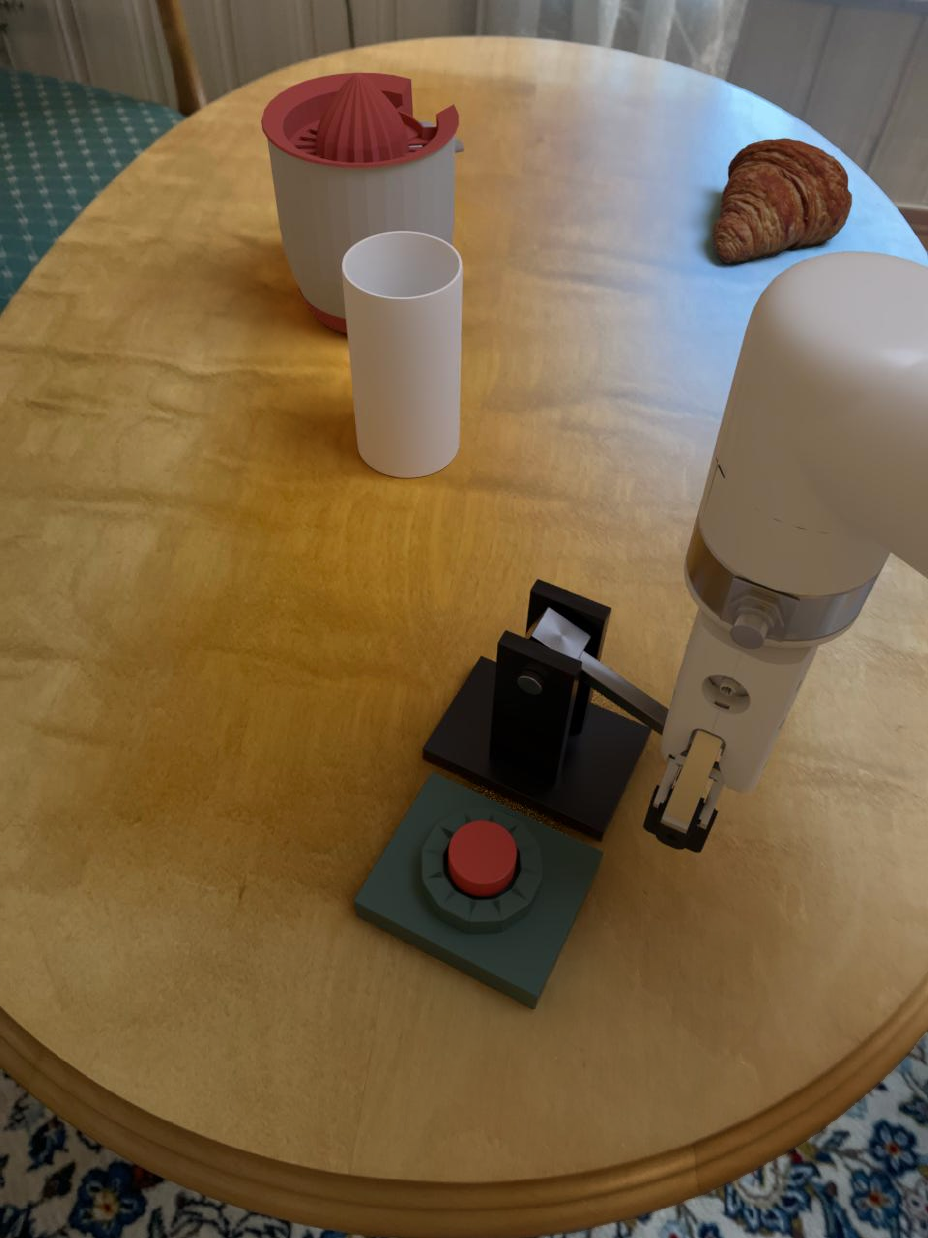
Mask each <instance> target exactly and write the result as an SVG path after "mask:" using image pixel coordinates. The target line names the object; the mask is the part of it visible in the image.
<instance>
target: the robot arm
mask: <svg viewBox="0 0 928 1238" xmlns="http://www.w3.org/2000/svg"><path fill="white" fill-rule="evenodd" d="M715 441H716V442H715V445H714V449H713V453H712V456H711V457H712V458H711V461H710V465H709V469H708V471H707V472H708V473H707V477H706V480H705V485H704V488H703V493H702V497H701V498H700V503H699V507H698V510H697V514H696V518H695V520H694V521H695V522H694V525H693V529H692V532H691V537H690V540H689V543H688V547H687V551H686V555H685V558H684V559H685V560H684V563H683V564H684V565H683V575H684V581H685V584H686V588H687V591H688V592H689V594H690V597H691V599H692V600H693V601H694V604H695V605H696V606H697V611H696V615H695V617H694V621H693V624H692V627H691V631H690V633H689V637H688V640H687V644H686V647H685V651H684V653H683V657H682V660H681V664H680V668H679V671H678V674H677V677H676V681H675V684H674V690H673V692H672V696H671V700H670V703H669V707H668V709H669V710H668V714H667V718H666V722H665V726H664V730H663V734H662V736H661V739H660V744H659V750H660V752H661V756H662V757H663V758H664V761H666V762H668V764H667V767H666V769H665V772H664V775H663V777H662V780H661V783H660V785H659V784H656V785H655V788H654V789H653V793H652V795H651V798H650V802H649V805H648V808H647V811H646V814H645V818H644V821H643V823H642V828H643V829H644V830H645V831H646V832H647V833H649V834H652V835H654V836H655V838H656V840H657V841H658V842H660V844H663V845H665V846H667V847H669V848H672V849H673V850H674V849H675V850H679V851H682V850H687V851H690V852H693V853H696V854H700V853H702V851H703V848H704V846H705V844H706V842H707V840H708V837H709V835H710V832H711V830H712V828H713V825H714V823H715V821H716V819H717V816H718V814H719V810H717V809H716V805H717V803H718V801H719V798H720V795H721V793H722V791H723V789H724V785H725V787H726V788H727V789H728V790H731V791H734V792H736V793H739V794H743V795H745V794H748V793H750V792H753V791H754V790H756V789H757V787H758V784H759V782H760V780H761V778H762V776H763V773H764V772H765V771H764V770H765V768H766V766H767V764H768V761H769V759H770V757H771V754H772V752H773V750H774V748H775V745H776V743H777V741H778V739H779V737H780V735H781V732H782V730H783V727H784V726H785V723H786V722H787V720H788V717H789V715H790V712H791V710H792V708H793V706H794V704H795V702H796V699H797V697H798V695H799V693H800V691H801V689H802V686H803V684H804V682H805V680H806V677H807V675H808V672H809V671H810V669H811V666H812V664H813V661H814V659H815V657H816V654H817V651H818V649H819V646H822V645H824V644H827V643H830V642H832V641H835V640H836V639H837V638H840V637H841V636H842V635H844V634H845V633H846V632H847V631H849V630H850V629H851V628H852V627H853V625H854V624H855V622H856V621H857V619H858V618H859V616H860V614H861V612H862V609H863V607H864V606H865V604H866V602H867V600H868V598H869V596H870V594H871V592H872V590H873V588H874V586H875V584H876V583H877V580H878V578H879V576H880V574H881V572H882V570H883V569H884V566H885V564H886V563H887V560H889V557H890V555H891V554H892V555H894V556H895V557H896V558H898V559H899V560H901V561H902V562H904V563H905V564H907V565H908V566H909V567H911V568H912V569H913V570H915V571H916V572H917V573H919V574H920V575H922V576H923V577H924V578H926V579H927V580H928V266H926V265H923V264H921V263H918V262H916V261H913V260H910V259H907V258H903V257H900V256H896V255H892V254H886V253H881V252H874V251H863V250H860V251H858V250H857V251H855V250H854V251H853V250H851V251H849V250H845V251H835V252H829V253H823V254H820V255H816V256H813V257H810V258H809V257H808V258H806V259H803V260H801V261H798V262H795V263H794V264H792V265H790V266H789V267H788V268H786V269H785V270H783V271H782V272H780V273H779V274H778V275H777V276H775V277H774V278H773V279H772V281H770V282H769V284H768V285H767V286H766V287H765V288H764V290H763V291H762V292H761V293H760V295H759V297H758V299H757V301H756V302H755V304H754V306H753V308H752V311H751V314H750V316H749V319H748V323H747V325H746V329H745V331H744V335H743V339H742V343H741V347H740V351H739V354H738V358H737V362H736V365H735V369H734V373H733V377H732V381H731V385H730V389H729V391H728V396H727V400H726V403H725V407H724V412H723V414H722V419H721V422H720V426H719V430H718V434H717V437H716V440H715ZM693 738H694V740H693ZM692 740H693V743H692ZM689 743H690V744H691V743H692V745H691V748H690V750H689V749H687V747H688V744H689ZM720 750H721V752H720ZM719 752H720V755H719ZM718 755H719V756H720V759H719V761H717V758H718ZM681 767H682V770H681V772H680V769H681ZM679 772H680V775H679V777H678V780H677V782H676V779H677V776H678V774H679ZM709 779H710V780H713V781H712V783H711V785H710V788H709V791H708V793H707V796H706V798H704V797H702V794H703V793H704V790H705V787H706V785H707V782H708V780H709ZM674 783H675V784H674Z"/></svg>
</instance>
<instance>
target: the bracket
mask: <svg viewBox="0 0 928 1238" xmlns="http://www.w3.org/2000/svg"><path fill="white" fill-rule="evenodd" d="M548 607H550V608H551V609H552V610H554V611H555V612H557V613H558V614H560V615H561V616H563V617H564V618H566V619H567V620H568V621H570V622H571V623H573V624H574V625H576V626H577V627H579V628H580V629H582V630H583V631H584V632H586V633H587V634H589V635H590V636H591V637H590V639H589V641H588V643H587V645H586V647H585V648H584V650H583V651H585V652H586V653H588V654H589V655H591V656H592V657H594V658H595V659H597V660H598V661H599V662H601V659H602V654H603V650H604V646H605V640H606V636H607V632H608V628H609V623H610V618H611V614H612V607H610V606H608V605H605V604H603V603H600V602H597V601H595V600H593V599H590V598H587V597H585V596H582V595H580V594H577V593H576V592H572V591H570V590H567V589H565V588H562V587H560V586H557V585H555V584H553V583H550V582H547V581H546V580H542V579H540V578H537V579H536V580H535V582H534V583H533V585H532V587H531V588H530V590H529V598H528V607H527V616H526V623H525V631H524V636H521V635H520V634H516V633H514V632H513V631H510V630H508V629H505V630H504V631H503V633H502V635H501V637H500V638H499V639H498V641H497V642H496V643H497V646H496V658H495V661H494V660H492V659H489V658H488V657H485V656H483V655H480V656H479V658H478V659H477V660H476V662H475V664H474V665H473V667H472V669H471V670H470V672H469V674H468V675H467V677H466V679H465V680H464V681H463V682H462V685H461V686H460V688H459V689H458V690H457V693H456V694H455V696H454V697H453V699H452V701H451V702H450V704H449V705H448V707H447V709H446V710H445V711H444V713H443V715H442V717H441V719H440V720H439V721H438V723H437V725H436V727H435V728H434V730H433V731H432V733H431V735H430V736H429V737H428V739H427V741H426V742H425V744H424V746H423V747H422V759H423V760H424V761H426V762H428V763H431V764H433V765H435V766H437V767H439V768H441V769H443V770H446V771H448V772H450V773H452V774H454V775H456V776H457V777H460V778H463V779H465V780H467V781H469V782H471V783H473V784H476V785H478V786H480V787H482V788H484V789H486V790H488V791H491V792H493V793H495V794H497V795H499V796H501V797H503V798H506V799H508V800H509V801H512V802H514V803H516V804H518V805H521V806H523V807H525V808H527V809H529V810H532V811H533V812H536V813H538V814H540V815H542V816H544V817H547V818H549V819H551V820H553V821H555V822H558V823H559V824H561V825H563V826H565V827H568V828H570V829H572V830H574V831H576V832H578V833H581V834H583V835H584V836H586V837H589V838H592V839H593V840H596V841H597V842H600V843H601V842H602V841H603V840H604V838H605V835H606V833H607V831H608V829H609V826H610V825H611V822H612V820H613V818H614V816H615V814H616V811H617V809H618V807H619V805H620V803H621V801H622V798H623V796H624V794H625V792H626V790H627V788H628V785H629V784H630V781H631V779H632V776H633V775H634V773H635V770H636V768H637V766H638V764H639V762H640V759H641V757H642V755H643V753H644V750H645V748H646V746H647V744H648V742H649V740H650V736H651V734H652V729H651V728H649V727H648V726H647V725H645V724H644V723H640V722H638V721H636V720H633V719H630V718H628V717H626V716H624V715H621V714H619V713H617V712H614V711H612V710H610V709H608V708H605V707H602V706H601V705H598V704H596V703H593V702H592V699H593V695H594V691H595V690H594V689H593V688H591V687H590V686H588V685H587V684H585V683H584V682H582V681H581V680H579V678H580V673H581V668H582V663H583V662H582V661H580V660H577V659H575V658H572V657H570V656H568V655H565V654H563V653H560V652H558V651H556V650H553V649H551V648H548V647H546V646H544V645H541V644H539V643H536V642H534V641H531V640H529V639H527V638H524V637H525V635H526V634H527V632H528V630H529V629H530V627H531V626H532V625H533V623H534V622H535V621H536V620H537V619H538V618H539V617H540V616H541V614H542V613H543V612H544V611H545V610H546V609H547V608H548Z"/></svg>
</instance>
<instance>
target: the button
mask: <svg viewBox="0 0 928 1238" xmlns="http://www.w3.org/2000/svg"><path fill="white" fill-rule="evenodd" d="M516 858H517V848H516V844H515V841H514V839H513V837H512V836H511V834H510V833H509V832H508V831H507V830H506V829H505V828H503V827H502V826H500V825H499V824H497V823H494V822H491V821H483V820H480V821H474V822H470V823H468V824H466V825H464V826H462V827H461V828H460V829H459V830H457V832H456V833H455V834H454V836H453V837H452V839H451V841H450V844H449V858H448V866H449V872H450V875H451V878H452V880H453V881H454V883H455V884H456V885H457V886H458V887H459V888H460V889H461V890H463V891H464V892H466V893H468V894H470V895H474V896H481V897H484V896H491V895H494V894H497V893H499V892H500V891H502V890H503V889H505V888H506V887H507V886H508V884H509V883H510V882H511V880H512V878H513V875H514V872H515V865H516Z"/></svg>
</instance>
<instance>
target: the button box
mask: <svg viewBox="0 0 928 1238" xmlns="http://www.w3.org/2000/svg"><path fill="white" fill-rule="evenodd" d="M480 820H483V821H491V822H494V823H497V824H499V825H500V826H502V827H503V828H505V829H506V830H507V831H508V832H509V833H510V834H511V836H512V837H513V839H514V841H515V844H516V848H517V858H516V865H515V872H514V875H513V878H512V880H511V882H510V883H509V884H508V886H507V887H506V888H505V889H503V890H502V891H500V892H499V893H497V894H494V895H491V896H484V897H481V896H474V895H470V894H468V893H466V892H464V891H463V890H461V889H460V888H459V887H458V886H457V885H456V884H455V883H454V881H453V880H452V878H451V875H450V872H449V866H448V858H449V844H450V841H451V839H452V837H453V836H454V834H455V833H456V832H457V830H459V829H460V828H461V827H462V826H464V825H466V824H468V823H470V822H474V821H480ZM603 856H604V851H603V850H600V849H598V848H596V847H594V846H592V845H590V844H589V843H585V842H583V841H581V840H579V839H577V838H575V837H573V836H571V835H570V834H569V835H568V834H566V833H565V832H562V831H560V830H559V829H556V828H554V827H552V826H550V825H548V824H545V823H543V822H541V821H539V820H537V819H535V818H532V817H530V816H528V815H526V814H524V813H522V812H519V811H518V810H515V809H513V808H511V807H509V806H507V805H505V804H503V803H500V802H499V801H496V800H494V799H492V798H491V797H490V798H489V797H487V796H485V795H483V794H481V793H479V792H477V791H475V790H473V789H471V788H469V787H466V786H464V785H462V784H460V783H458V782H456V781H453V780H451V779H450V778H447V777H445V776H443V775H441V774H440V773H439V774H438V773H436V772H435V771H431V772H430V774H429V775H428V776H427V778H426V780H425V782H424V784H423V786H422V787H421V789H420V790H419V792H418V794H417V795H416V797H415V798H414V799H413V802H412V803H411V805H410V807H409V809H408V810H407V812H406V813H405V815H404V817H403V818H402V820H401V821H400V824H399V825H398V827H397V828H396V830H395V831H394V833H393V834H392V836H391V838H390V839H389V841H388V843H387V845H386V846H385V848H384V849H383V851H382V853H381V854H380V856H379V858H378V859H377V861H376V862H375V864H374V866H373V867H372V870H370V872H369V874H368V876H367V877H366V879H365V881H364V882H363V883H362V885H361V887H360V889H359V890H358V892H357V893H356V895H355V897H354V899H353V906H354V911H355V916H356V917H357V918H360V920H361V919H362V920H363V921H365V922H367V923H368V924H371V925H373V926H375V927H376V928H378V929H380V930H382V931H384V932H386V933H388V934H390V935H391V936H394V937H395V938H397V939H399V940H401V941H403V942H405V943H406V944H409V945H411V946H412V947H414V948H417V949H418V950H420V951H421V952H424V953H425V954H427V955H429V956H431V957H433V958H435V959H437V960H439V961H441V962H443V963H445V964H447V965H449V966H450V967H452V968H454V969H456V970H458V971H460V972H462V973H463V974H466V975H467V976H469V977H472V978H473V979H475V980H477V981H479V982H480V983H483V984H484V985H486V986H489V987H490V988H493V989H494V990H496V991H498V992H499V993H502V994H503V995H506V996H507V997H508V998H511V999H513V1000H515V1001H517V1002H519V1003H520V1004H522V1005H524V1006H526V1007H528V1008H530V1009H532V1010H536V1008H537V1006H538V1003H539V1001H540V999H541V996H542V994H543V992H544V990H545V988H546V985H547V983H548V981H549V979H550V977H551V975H552V973H553V971H554V968H555V966H556V964H557V961H558V959H559V957H560V955H561V953H562V951H563V948H564V947H565V944H566V942H567V940H568V937H569V935H570V933H571V931H572V929H573V926H574V924H575V922H576V920H577V918H578V915H579V913H580V911H581V909H582V906H583V905H584V902H585V900H586V898H587V897H588V893H589V891H590V889H591V887H592V885H593V882H594V880H595V878H596V876H597V874H598V871H599V869H600V867H601V863H602V860H603V858H604V857H603Z"/></svg>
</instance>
